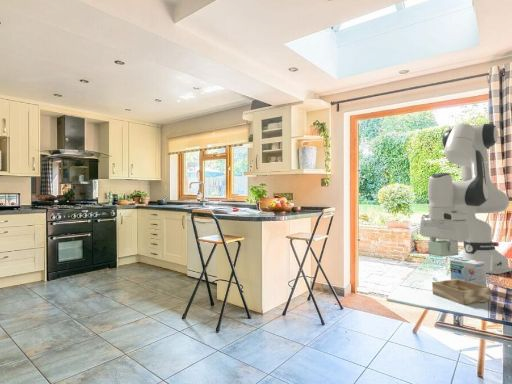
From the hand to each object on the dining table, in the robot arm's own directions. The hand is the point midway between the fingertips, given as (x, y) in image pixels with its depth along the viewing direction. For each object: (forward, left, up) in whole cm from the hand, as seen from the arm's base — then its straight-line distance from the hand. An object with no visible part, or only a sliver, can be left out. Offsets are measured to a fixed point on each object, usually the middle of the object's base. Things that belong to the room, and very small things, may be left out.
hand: (443, 250), depth 121 cm
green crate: (0, 0, -2) cm, 2 cm away
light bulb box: (-15, -3, -17) cm, 23 cm away
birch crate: (-1, +6, -17) cm, 18 cm away
